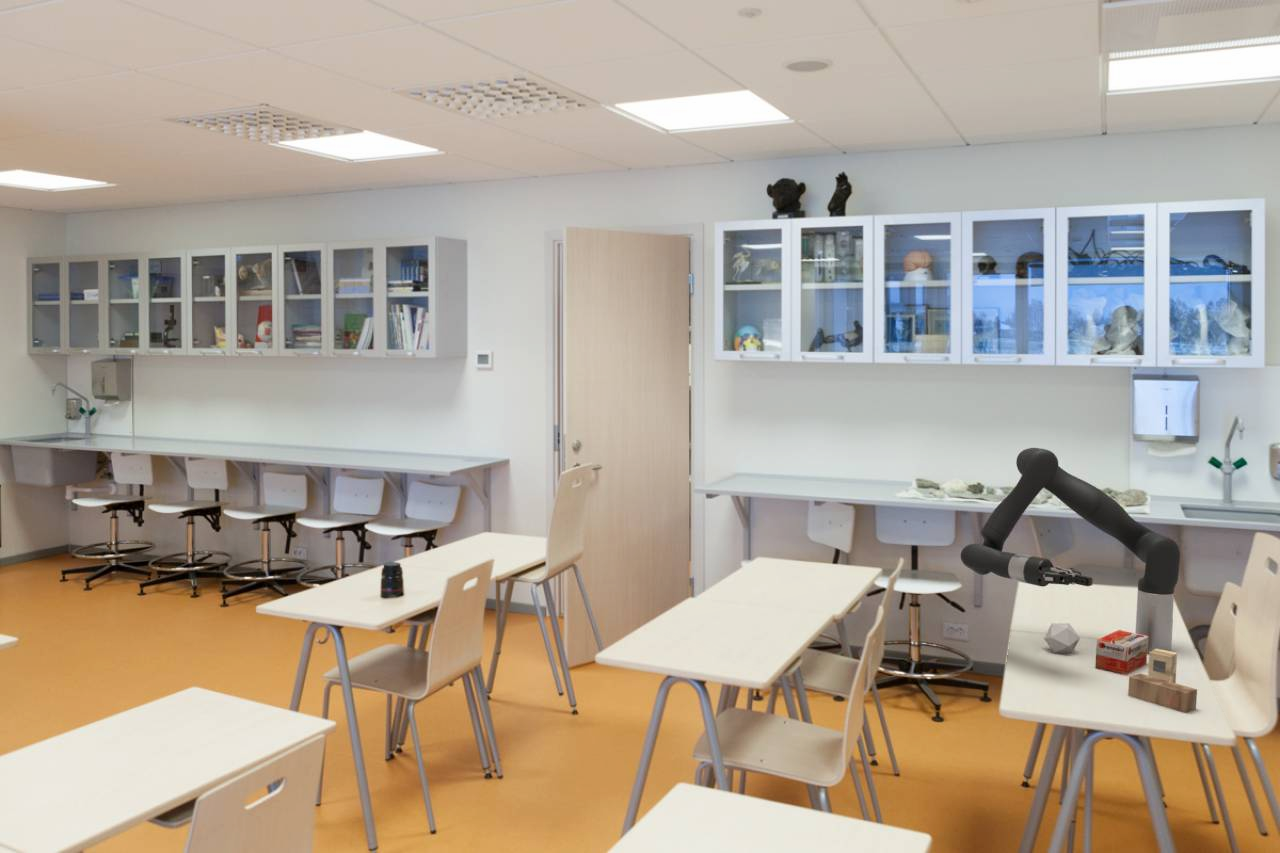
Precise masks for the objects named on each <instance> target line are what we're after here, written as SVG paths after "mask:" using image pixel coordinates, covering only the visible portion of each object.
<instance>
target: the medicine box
mask: <svg viewBox="0 0 1280 853" xmlns="http://www.w3.org/2000/svg"><path fill="white" fill-rule="evenodd" d="M1147 649H1148V636H1144V635H1140V634H1135V632H1129V631H1126V630H1121V629H1118V630H1116V631H1113V632H1111V633H1109V634H1107V635H1105V636H1102V637H1100V638H1098V639H1096V649H1095V668H1096V669H1098V670H1104V671H1111V672H1114V673H1116V674H1120V675H1124V676H1127V675H1129V674H1130V673H1132V672H1134V671H1136V670H1138V669H1141V668H1142V667H1144V666H1145V665H1147V664H1148V663H1147V661H1148V660H1147V659H1148V653H1147Z"/></svg>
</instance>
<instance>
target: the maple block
mask: <svg viewBox="0 0 1280 853" xmlns="http://www.w3.org/2000/svg"><path fill="white" fill-rule="evenodd" d="M1148 655H1149V656H1148V671H1147V672H1148V673H1147V675H1148V676H1151V677H1155V678H1158V679H1162V680H1166V681H1169V682H1173V683H1176V684H1177V681H1176V680H1177V665H1178V663H1177V661H1178V652H1174V651H1171V652H1170V651H1166V650H1161V649H1155V650H1153V651H1151V652H1150V653H1148Z"/></svg>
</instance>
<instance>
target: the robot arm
mask: <svg viewBox="0 0 1280 853" xmlns="http://www.w3.org/2000/svg"><path fill="white" fill-rule="evenodd" d="M1016 468H1017V471H1018V472H1019V473H1020V475H1021V477H1020V479H1019V480H1018V482H1017V483H1016V485H1015V486H1014V487H1013V489H1012V490H1011V491H1010V492H1009V494H1007V495H1006V497H1005V498H1004V499H1003V500H1002V501H1001V502H1000V503H999V504H998V505H997V506H996V508H995V509H994V510H992V513H991V514H990V515H989V517H988V519H987V521H986V522H985V524H984V526H982V528H981V531H980V535H981V536H982V538H983V542H982V544H980V543H970V544H967V545H966V546H964V547H963V549H962V550H961V552H960V559H961V562H962V564H963V565H964V566H966V567H967V568H969V569H970V570H972V571H973V572H974V573H976V574H978V575H982V576H984V575H988V574H990V573H993V574H995V575H996V576H998V577H1001V578H1005V579H1009V580H1014V581H1017V582H1019V583H1024V584H1028V585H1033V586H1037V587H1041V588H1042V587H1046V586H1048V585H1049V584H1051V585H1062V586H1063V585H1065V586H1069V585H1079V586H1082V587H1083V586H1084V587H1091V586H1093V580H1094V579H1093V578H1092V577H1091V576H1085V575H1082V572H1080V571H1079V570H1077V569H1076V568H1072V567H1069V568H1064V567H1061V566H1058V565H1057V566H1054V564H1053V562H1052V561H1051V560H1050V559H1048V558H1044V557H1039V556H1034V555H1029V554H1021V553H1020V554H1019V553H1014V552H1008V551H1003V548H1004V545H1005V542H1006V540H1007V539H1008V537H1009V536H1010V534H1011V533H1012V532H1013V530H1014V528H1015V526H1016V525H1017V523H1018V522H1019V520H1020V519H1021V518H1022V515H1024V513H1025V511H1026V510H1027V509H1028V507H1029V506H1030V505H1031V503H1032V502H1033V501H1034V500H1035V498H1036V497H1037V496H1038V495H1039V493H1040V492H1041V491H1042V490H1043V488H1044V489H1045V490H1047V492H1050V494H1052V495H1054V496H1055V497H1056V498H1057V499H1059V501H1061V502H1062V503H1064V505H1065V506H1067V507H1068V508H1069V509H1070V510H1072V511H1073V512H1075V513H1076V514H1077V515H1078V516H1079V517H1081V518H1082V519H1083V520H1085V521H1086V522H1088V523H1089V524H1091V525H1092V526H1094V527H1095V528H1097V529H1098V530H1100V531H1101V532H1104V533H1105V534H1107V535H1108V536H1111V537H1112V538H1115V540H1117V541H1118V542H1120V543H1121V544H1122V545H1123V546H1124V547H1126V548H1127V549H1128V550H1129V551H1130V552H1132V554H1133V555H1135V556H1136V557H1137V558H1138V559H1139V560H1140V561H1141V562H1142V563H1145V565H1144V566H1145V567H1144V575H1143V577H1141V578H1139V579H1138V581H1137V595H1136V596H1137V599H1136V615H1135V617H1136V619H1135V620H1136V621H1135V632H1134V633H1135V634H1140V635H1144V636H1148V649H1147V654H1149V653H1150V652H1151V651H1153V650H1155V649H1161V650H1166V651H1170V652H1172V646H1173V645H1172V643H1173V642H1172V640H1173V625H1174V624H1173V623H1174V619H1173V618H1174V616H1173V615H1174V604H1175V603H1174V600H1175V598H1174V597H1175V588H1176V586H1177V584H1178V581H1179V573H1180V565H1181V564H1180V562H1181V550H1180V547H1179V544H1178V543H1177V542H1176V541H1175V540H1174V539H1172V538H1170V537H1168V536H1165V535H1163V534H1160V533H1157V532H1156V531H1153V530H1151V529H1149V528H1147V527H1146V526H1144V525H1142V524H1141V523H1139V521H1136V520H1135V519H1134V518H1132V516H1130V514H1129V513H1128V512H1127V511H1126V510H1125V509H1124V508H1123V506H1122V505H1120V504H1119V502H1118V501H1117V500H1115V499H1114V498H1112V497H1111V496H1110V495H1108V494H1107V493H1105V492H1104V491H1103V490H1101V489H1100V488H1098V487H1096V486H1095V485H1092V484H1091V483H1089V482H1087V481H1085V480H1083V479H1081V478H1079V477H1077V476H1075V475H1073V474H1071V473H1069V472H1067V471H1066V470H1064V468H1062V467H1060V466H1059V460H1058V457H1057V455H1056V454H1055V453H1054V452H1053V451H1050V450H1048V449H1045V448H1038V447H1029V448H1026V449H1023V450H1022V451H1020V453H1018V455H1017V456H1016Z"/></svg>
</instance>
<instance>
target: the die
mask: <svg viewBox="0 0 1280 853" xmlns="http://www.w3.org/2000/svg"><path fill="white" fill-rule="evenodd" d="M1080 639H1081V636H1080V635H1079V634H1078V633H1077V631H1076V630H1075V629H1074V628H1073V626H1072V625H1071V624H1070V623H1060V622H1059V623H1055V622H1054V623H1053V622H1052V623H1050V626H1049V627H1048V630H1047V632H1046V634H1045V636H1044V638H1043V640H1044V641H1045V642H1046V644H1047V645H1048V646H1049V648H1050V649H1051V651H1052V652H1053V653H1054V654H1073V653H1074V651H1075V649H1076V647H1077V645H1078V644H1079V641H1080Z"/></svg>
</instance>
